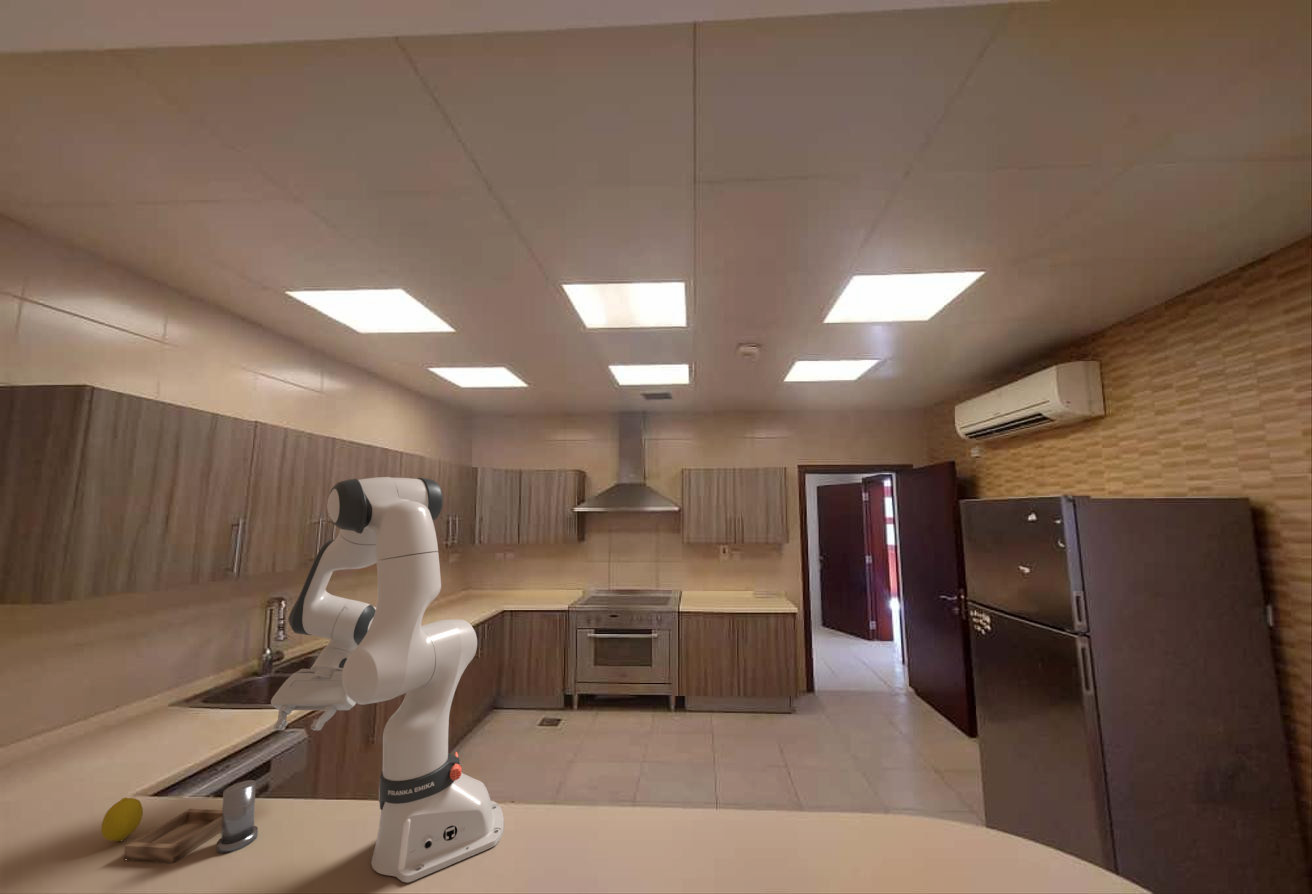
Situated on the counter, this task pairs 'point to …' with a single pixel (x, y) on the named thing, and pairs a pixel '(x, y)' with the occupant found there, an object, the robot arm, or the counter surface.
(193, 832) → the tray
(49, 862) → the counter surface
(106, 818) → the lemon
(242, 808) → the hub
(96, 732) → the counter surface
